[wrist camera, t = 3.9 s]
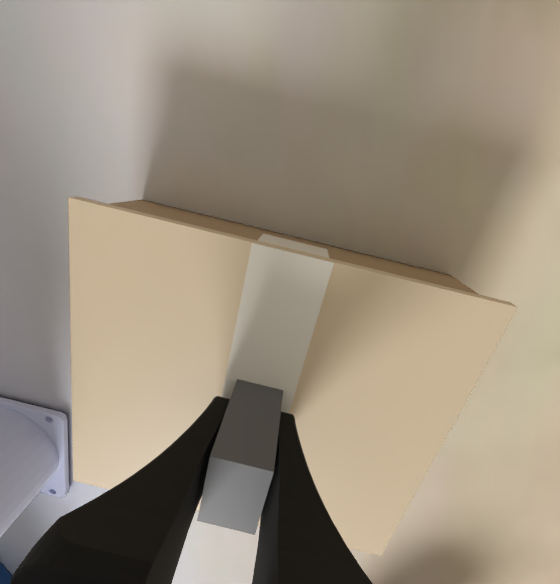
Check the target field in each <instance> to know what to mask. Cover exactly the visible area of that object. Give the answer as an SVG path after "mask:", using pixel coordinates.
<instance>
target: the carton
mask: <svg viewBox="0 0 560 584" xmlns="http://www.w3.org/2000/svg"><path fill="white" fill-rule="evenodd" d="M110 205H114V206H118V207H122V208H126V209H131V210H135V211H139V212H143V213H147V214H151V215H155V216H159V217H163V218H167V219H171V220H176V221H180V222H184V223H188V224H192V225H196V226H200V227H204V228H208V229H212V230H216V231H220V232H225V233H229V234H233V235H237V236H241V237H245V238H249V239H253V240H257V241H261V242H265V243H270V244H274V245H278V246H282V247H286V248H290V249H294V250H298V251H302V252H306V253H310V254H315V255H319V256H323V257H327V258H331V259H335V260H339V261H343V262H347V263H351V264H355V265H360V266H364V267H368V268H372V269H376V270H380V271H384V272H388V273H392V274H396V275H400V276H405V277H409V278H413V279H417V280H421V281H425V282H429V283H433V284H437V285H441V286H445V287H450V288H454V289H458V290H462V291H466V292H470V293H474V294H477V293H476V292H474V291H473V290H471V289H470V288H468V287H467V286H465V285H464V284H462V283H461V282H460V281H458V280H457V279H455V278H454V277H452V276H451V275H448V274H444V273H440V272H436V271H432V270H427V269H423V268H419V267H415V266H411V265H407V264H403V263H399V262H395V261H391V260H387V259H382V258H378V257H374V256H370V255H366V254H362V253H358V252H354V251H350V250H346V249H342V248H337V247H333V246H329V245H325V244H321V243H317V242H313V241H309V240H305V239H301V238H297V237H292V236H288V235H284V234H280V233H276V232H272V231H268V230H264V229H260V228H256V227H252V226H247V225H243V224H239V223H235V222H231V221H227V220H223V219H219V218H215V217H211V216H207V215H202V214H198V213H194V212H190V211H186V210H182V209H178V208H174V207H170V206H166V205H162V204H158V203H153V202H149V201H145V200H136V201H128V202H119V203H111V204H110ZM478 295H479V294H478Z"/></svg>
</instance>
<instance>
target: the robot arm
mask: <svg viewBox="0 0 560 584" xmlns="http://www.w3.org/2000/svg"><path fill="white" fill-rule="evenodd" d="M229 401H230V399H228V398H224V397H220V396H216V397H214V399H213V400H212V402H211V403H210V404H209V406H208V407H207V408H206V409H205V411H204V412H203V413H202V414H201V415H200V416H199V417H198V419H197V420H196V421H195V422H194V423H193V424H192V425H191V426H190V427H189V428H188V429H187V430H186V431H185V432H184V433H183V434H182V435H181V436H180V437H179V438H178V439H177V440H176V441H174V442H173V443H172V444H171V445H170V446H169V447H168V448H167V449H166V450H164V451H163V452H162V453H161V454H160V455H158V456H157V457H156V458H155V459H153V460H152V461H151V462H150V463H148V464H147V465H146V466H144V467H143V468H141V469H140V470H139V471H137V472H136V473H135V474H133V475H132V476H130V477H129V478H127V479H126V480H124V481H123V482H121V483H120V484H118V485H117V486H115V487H113V488H112V489H110V490H109V491H107V492H105V493H104V494H102V495H100V496H99V497H97V498H95V499H94V500H92V501H90V502H88V503H86V504H84V505H83V506H81V507H79V508H77V509H75V510H73V511H71V512H70V513H68V514H66V515H64V516H62V517H60V518H59V519H58V520H57V521H56V522H55V523H54V524H53V525H52V526H51V527H50V528H49V529H48V531H47V532H46V533H45V534H44V535H43V536H42V537H41V538H40V540H39V541H38V542H37V543H36V544H35V546H34V547H33V548H32V549H31V551H30V552H29V553H28V555H27V556H26V558H25V559H24V560H23V562H22V563H21V564H20V566H19V567H18V569H17V570H16V571H15V573H14V574H13V576H12V577H11V581H10V584H171V583H172V580H173V576H174V573H175V570H176V567H177V564H178V561H179V558H180V554H181V551H182V548H183V545H184V542H185V539H186V536H187V533H188V530H189V527H190V524H191V522H192V519H193V516H194V514H195V511H196V509H197V506H198V504H199V502H200V499H201V497H202V493H203V488H204V483H205V478H206V473H207V468H208V463H209V458H210V454H211V452H212V449H213V446H214V443H215V440H216V437H217V435H218V432H219V429H220V426H221V423H222V420H223V418H224V415H225V412H226V409H227V406H228V404H229ZM68 492H69V466H68V425H67V416H66V415H65V414H64V413H62V412H59V411H55V410H51V409H47V408H43V407H39V406H35V405H31V404H27V403H22V402H18V401H14V400H10V399H6V398H2V397H0V537H1V536H2V535H3V534H4V533H5V532H6V530H7V529H8V528H9V527H10V526H11V525H12V523H13V522H14V521H15V520H16V519H17V518H18V516H19V515H20V514H21V513H22V512H23V511H24V509H25V508H26V507H27V506H28V505H29V504H30V502H31V501H32V500H33V499H34V498H35V497H36V495H37V494H38V493H43V494H48V495H52V496H56V497H60V498H62V497H65V496H66V495H67V494H68ZM252 584H372V582H371V581H370V580H369V578H368V577H367V576H366V574H365V573H364V571H363V570H362V569H361V567H360V566H359V564H358V563H357V561H356V559H355V558H354V556H353V555H352V553H351V552H350V550H349V549H348V547H347V545H346V544H345V542H344V540H343V538H342V537H341V535H340V533H339V532H338V530H337V528H336V526H335V525H334V523H333V521H332V519H331V517H330V515H329V513H328V511H327V509H326V508H325V505H324V503H323V501H322V499H321V497H320V495H319V493H318V490H317V488H316V486H315V483H314V481H313V478H312V476H311V473H310V471H309V468H308V465H307V462H306V459H305V456H304V453H303V450H302V447H301V443H300V440H299V436H298V432H297V427H296V422H295V417H294V415H293V414H290V413H285V412H281V415H280V424H279V432H278V441H277V450H276V458H275V467H274V473H273V477H272V480H271V483H270V486H269V490H268V493H267V496H266V500H265V503H264V506H263V509H262V513H261V518H260V531H259V541H258V549H257V555H256V562H255V568H254V575H253V581H252Z"/></svg>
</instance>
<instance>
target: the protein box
mask: <svg viewBox="0 0 560 584" xmlns="http://www.w3.org/2000/svg"><path fill="white" fill-rule="evenodd" d="M11 577H12V575H11V574H10V573H9V571H8V570H7V569H6V568H5V567H4V565H3V564H2V563H1V562H0V584H10V581H11Z"/></svg>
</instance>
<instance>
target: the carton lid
mask: <svg viewBox="0 0 560 584" xmlns="http://www.w3.org/2000/svg"><path fill="white" fill-rule="evenodd" d="M68 209H69V266H70V323H71V381H72V438H73V481H77V482H81V483H85V484H89V485H93V486H97V487H101V488H105V489H109V490H110V489H112V488H113V487H115V486H117V485H118V484H120V483H121V482H123V481H124V480H126V479H127V478H129V477H130V476H132V475H133V474H135V473H136V472H137V471H139V470H140V469H141V468H143V467H144V466H146V465H147V464H148V463H150V462H151V461H152V460H153V459H155V458H156V457H157V456H158V455H160V454H161V453H162V452H163V451H164V450H166V449H167V448H168V447H169V446H170V445H171V444H172V443H173V442H174V441H176V440H177V439H178V438H179V437H180V436H181V435H182V434H183V433H184V432H185V431H186V430H187V429H188V428H189V427H190V426H191V425H192V424H193V423H194V422H195V421H196V420H197V419H198V417H199V416H200V415H201V414H202V413H203V412H204V411H205V409H206V408H207V407H208V406H209V404H210V403H211V402H212V400H213V399H214V397H216V396H220V397H224V398H228V399H230V401H229V404H228V406H227V409H226V412H225V415H224V418H223V420H222V423H221V426H220V429H219V432H218V435H217V437H216V440H215V443H214V446H213V449H212V452H211V454H210V458H209V463H208V468H207V473H206V478H205V483H204V488H203V493H202V497H201V499H200V502H199V504H198V506H197V509H196V511H199V514H198V519H197V521H201V522H205V523H209V524H213V525H217V526H221V527H225V528H229V529H233V530H238V531H242V532H246V533H250V534H254V535H255V532H256V529H257V526H260V518H261V513H262V509H263V506H264V503H265V500H266V496H267V493H268V490H269V486H270V483H271V480H272V477H273V473H274V467H275V458H276V450H277V441H278V432H279V424H280V415H281V412H285V413H290V414H293V415H294V417H295V422H296V427H297V432H298V436H299V440H300V443H301V447H302V450H303V453H304V456H305V459H306V462H307V465H308V468H309V471H310V473H311V476H312V478H313V481H314V483H315V486H316V488H317V490H318V493H319V495H320V497H321V499H322V501H323V503H324V505H325V508H326V509H327V511H328V513H329V515H330V517H331V519H332V521H333V523H334V525H335V526H336V528H337V530H338V532H339V533H340V535H341V537H342V538H343V540H344V542H345V544H346V545H347V547H348V548H350V549H354V550H358V551H362V552H366V553H370V554H374V555H379V556H381V555H382V553H383V551H384V550H385V548H386V546H387V544H388V542H389V541H390V539H391V537H392V535H393V533H394V532H395V530H396V528H397V526H398V524H399V522H400V521H401V519H402V517H403V515H404V513H405V512H406V510H407V508H408V506H409V504H410V503H411V501H412V499H413V497H414V495H415V493H416V492H417V490H418V488H419V486H420V484H421V483H422V481H423V479H424V477H425V475H426V474H427V472H428V470H429V468H430V466H431V464H432V463H433V461H434V459H435V457H436V455H437V454H438V452H439V450H440V448H441V446H442V445H443V443H444V441H445V439H446V437H447V435H448V434H449V432H450V430H451V428H452V426H453V425H454V423H455V421H456V419H457V417H458V416H459V414H460V412H461V410H462V408H463V406H464V405H465V403H466V401H467V399H468V397H469V396H470V394H471V392H472V390H473V388H474V387H475V385H476V383H477V381H478V379H479V377H480V376H481V374H482V372H483V370H484V368H485V367H486V365H487V363H488V361H489V359H490V358H491V356H492V354H493V352H494V350H495V348H496V347H497V345H498V343H499V341H500V339H501V338H502V336H503V334H504V332H505V330H506V329H507V327H508V325H509V323H510V321H511V319H512V318H513V316H514V314H515V312H516V310H517V309H518V307H517V306H515V305H513V304H512V303H510V302H507V301H503V300H499V299H495V298H490V297H486V296H482V295H478V294H474V293H470V292H466V291H462V290H458V289H454V288H450V287H445V286H441V285H437V284H433V283H429V282H425V281H421V280H417V279H413V278H409V277H405V276H400V275H396V274H392V273H388V272H384V271H380V270H376V269H372V268H368V267H364V266H360V265H355V264H351V263H347V262H343V261H339V260H335V259H331V258H327V257H323V256H319V255H315V254H310V253H306V252H302V251H298V250H294V249H290V248H286V247H282V246H278V245H274V244H270V243H265V242H261V241H257V240H253V239H249V238H245V237H241V236H237V235H233V234H229V233H225V232H220V231H216V230H212V229H208V228H204V227H200V226H196V225H192V224H188V223H184V222H180V221H176V220H171V219H167V218H163V217H159V216H155V215H151V214H147V213H143V212H139V211H135V210H131V209H126V208H122V207H118V206H114V205H110V204H106V203H102V202H98V201H94V200H90V199H86V198H81V197H68Z"/></svg>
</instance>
